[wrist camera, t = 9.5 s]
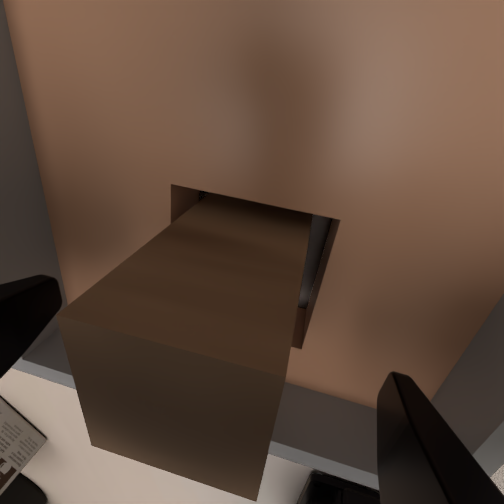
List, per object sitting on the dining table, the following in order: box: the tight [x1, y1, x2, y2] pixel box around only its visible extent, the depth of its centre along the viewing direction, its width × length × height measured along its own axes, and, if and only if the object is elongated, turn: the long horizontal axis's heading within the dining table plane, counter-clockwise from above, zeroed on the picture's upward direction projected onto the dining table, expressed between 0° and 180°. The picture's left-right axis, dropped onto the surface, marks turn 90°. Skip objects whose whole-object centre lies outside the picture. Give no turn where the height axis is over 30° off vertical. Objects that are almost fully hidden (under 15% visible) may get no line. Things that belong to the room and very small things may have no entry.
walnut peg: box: [56, 192, 313, 501], centre depth 9 cm, size 4×4×8 cm
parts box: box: [0, 0, 504, 490], centre depth 9 cm, size 17×17×5 cm
